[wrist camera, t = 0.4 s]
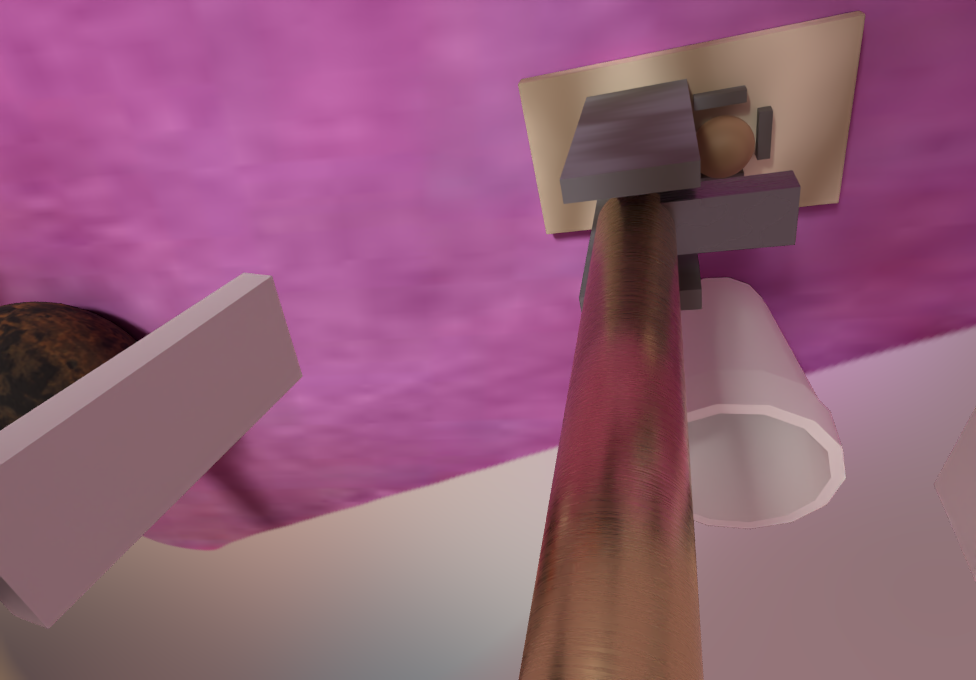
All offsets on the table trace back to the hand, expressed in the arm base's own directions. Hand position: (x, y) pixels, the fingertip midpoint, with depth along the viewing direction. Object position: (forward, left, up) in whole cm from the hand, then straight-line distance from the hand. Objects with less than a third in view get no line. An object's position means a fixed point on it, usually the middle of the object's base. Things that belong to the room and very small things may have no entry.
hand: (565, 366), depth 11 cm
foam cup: (+7, +16, -24) cm, 30 cm away
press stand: (+1, +5, -24) cm, 25 cm away
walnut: (-1, +6, -23) cm, 24 cm away
